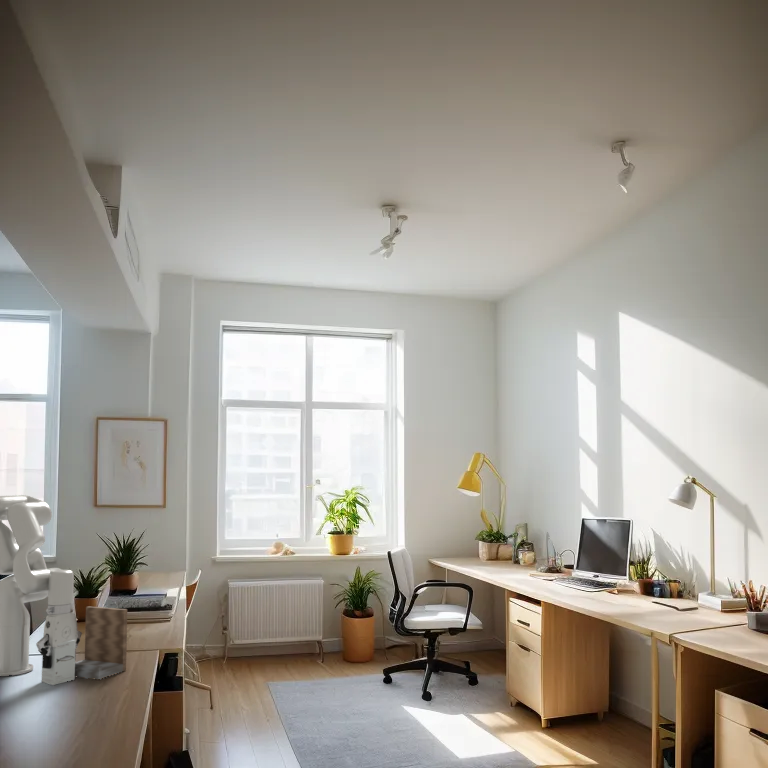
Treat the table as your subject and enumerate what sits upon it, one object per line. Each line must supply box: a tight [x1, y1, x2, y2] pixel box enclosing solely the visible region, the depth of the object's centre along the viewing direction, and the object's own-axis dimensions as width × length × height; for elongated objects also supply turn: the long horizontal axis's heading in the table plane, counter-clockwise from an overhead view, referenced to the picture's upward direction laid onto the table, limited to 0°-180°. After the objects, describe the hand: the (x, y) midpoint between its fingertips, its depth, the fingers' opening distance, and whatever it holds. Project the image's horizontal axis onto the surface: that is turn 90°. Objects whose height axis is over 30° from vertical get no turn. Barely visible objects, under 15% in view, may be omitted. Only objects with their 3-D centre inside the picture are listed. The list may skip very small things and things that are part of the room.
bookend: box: [75, 605, 128, 680], centre depth 253 cm, size 17×12×20 cm
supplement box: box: [41, 640, 77, 686], centre depth 243 cm, size 7×7×13 cm
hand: (59, 664), depth 243 cm, fingers open, 9 cm apart
